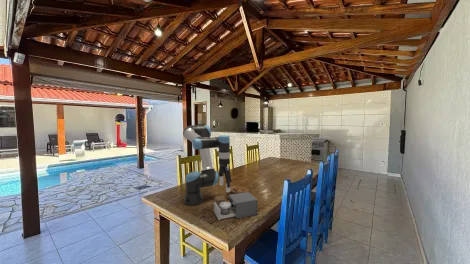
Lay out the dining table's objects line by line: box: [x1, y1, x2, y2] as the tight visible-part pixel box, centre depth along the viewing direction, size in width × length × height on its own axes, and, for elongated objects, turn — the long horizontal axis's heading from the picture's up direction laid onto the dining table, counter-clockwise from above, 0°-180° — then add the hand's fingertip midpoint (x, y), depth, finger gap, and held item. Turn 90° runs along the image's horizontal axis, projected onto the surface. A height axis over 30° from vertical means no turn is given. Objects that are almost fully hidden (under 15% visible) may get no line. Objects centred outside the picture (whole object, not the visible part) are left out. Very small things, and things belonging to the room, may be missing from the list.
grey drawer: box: [213, 201, 236, 221], centre depth 133 cm, size 13×16×7 cm
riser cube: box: [214, 195, 226, 209], centre depth 146 cm, size 6×6×6 cm
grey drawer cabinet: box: [228, 192, 258, 219], centre depth 137 cm, size 15×16×10 cm
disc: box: [219, 201, 231, 209], centre depth 132 cm, size 8×8×2 cm
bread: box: [224, 184, 251, 200], centre depth 159 cm, size 19×11×10 cm, turn 58°
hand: (224, 188), depth 131 cm, fingers open, 13 cm apart
